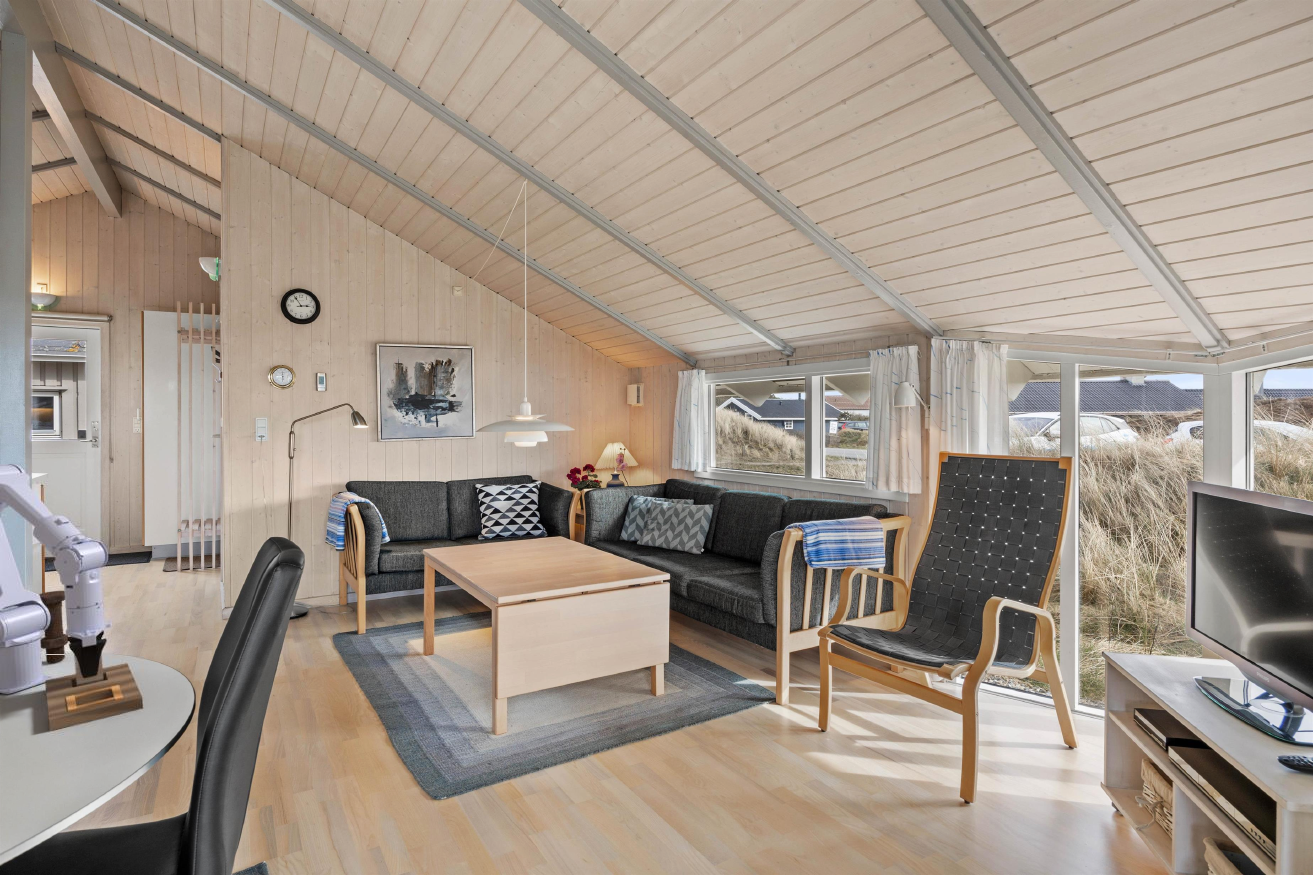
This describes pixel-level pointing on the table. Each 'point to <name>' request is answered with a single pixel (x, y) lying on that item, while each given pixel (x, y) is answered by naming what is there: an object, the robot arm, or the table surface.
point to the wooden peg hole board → (91, 697)
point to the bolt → (54, 627)
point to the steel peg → (84, 681)
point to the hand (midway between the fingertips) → (89, 673)
